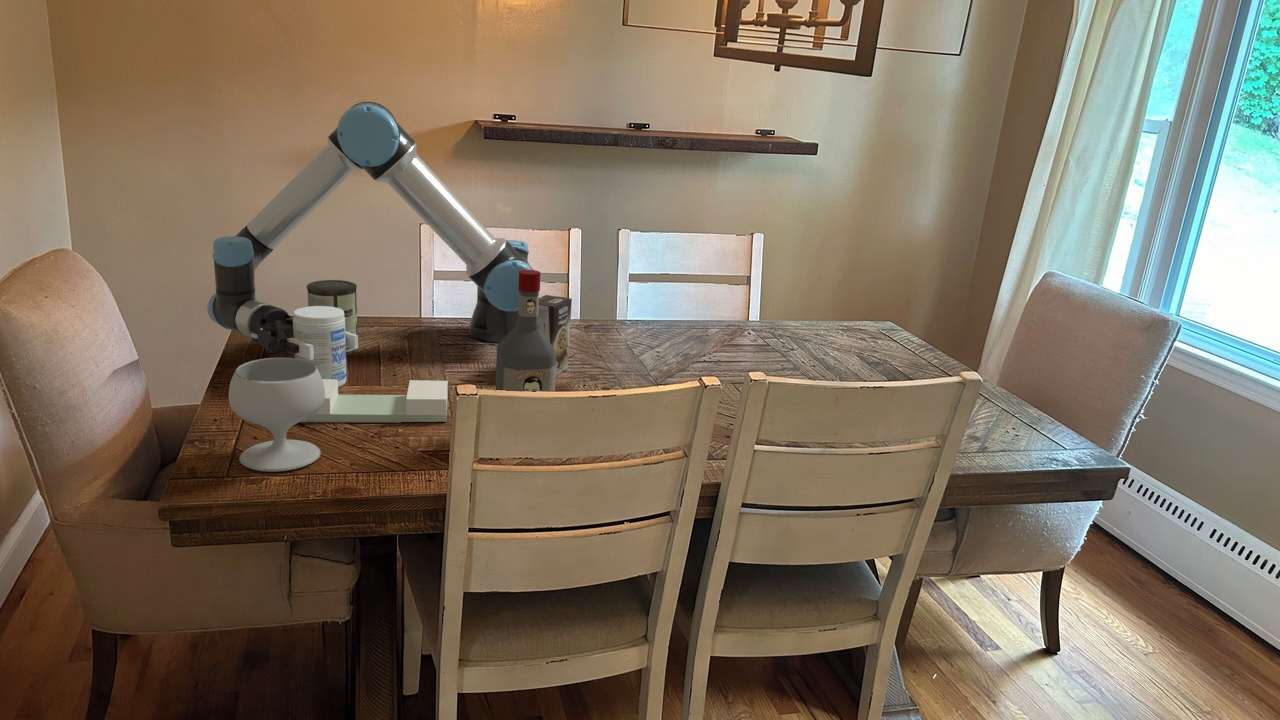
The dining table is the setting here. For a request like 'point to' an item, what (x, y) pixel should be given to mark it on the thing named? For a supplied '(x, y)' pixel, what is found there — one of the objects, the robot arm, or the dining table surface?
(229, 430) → the dining table surface
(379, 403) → the rail
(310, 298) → the coffee can
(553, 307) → the coffee box
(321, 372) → the supplement tub
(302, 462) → the chalice
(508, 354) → the liquor
